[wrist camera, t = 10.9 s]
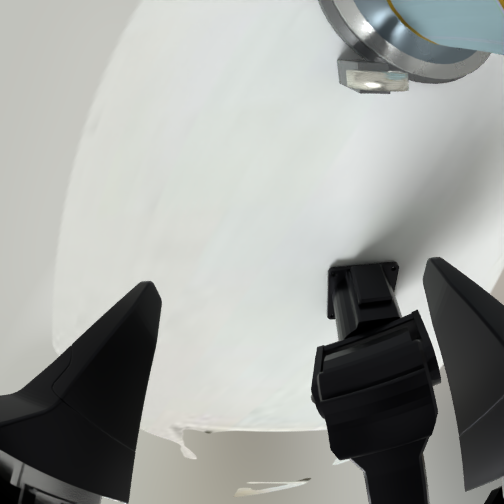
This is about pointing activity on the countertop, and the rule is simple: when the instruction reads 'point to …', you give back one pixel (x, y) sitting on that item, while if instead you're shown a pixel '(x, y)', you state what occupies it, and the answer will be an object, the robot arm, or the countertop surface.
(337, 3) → the platter
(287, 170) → the countertop surface
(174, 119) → the countertop surface
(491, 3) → the bottle
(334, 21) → the turntable base
